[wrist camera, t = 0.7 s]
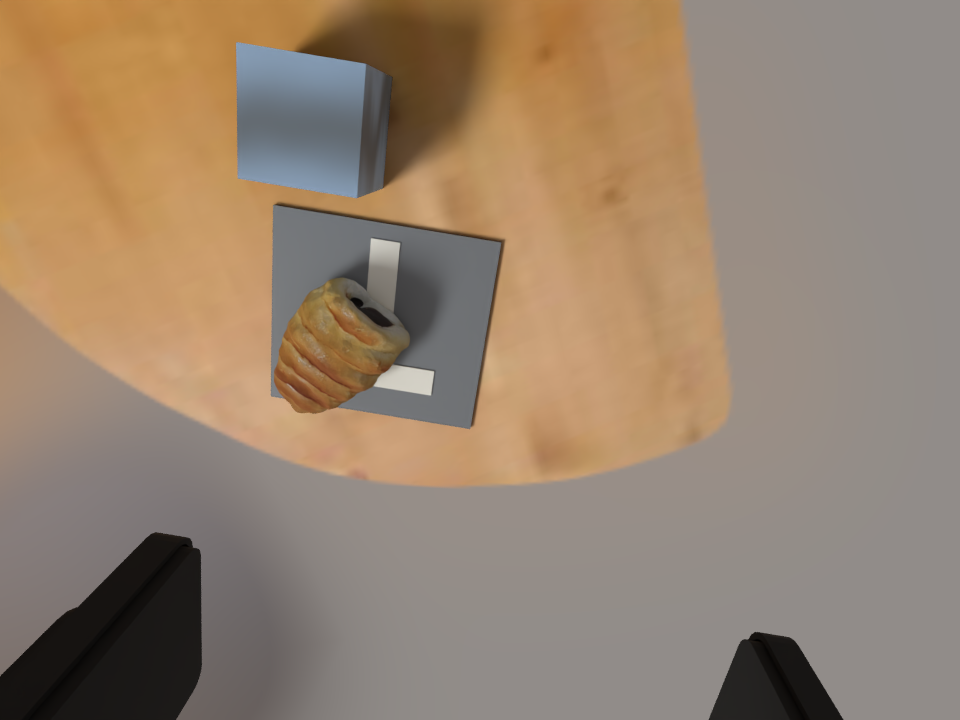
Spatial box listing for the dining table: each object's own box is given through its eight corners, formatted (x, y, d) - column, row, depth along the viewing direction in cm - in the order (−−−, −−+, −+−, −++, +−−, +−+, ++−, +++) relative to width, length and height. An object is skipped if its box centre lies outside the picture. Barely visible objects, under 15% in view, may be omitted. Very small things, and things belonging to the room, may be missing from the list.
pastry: (337, 424, 39) (319, 452, 35) (257, 363, 38) (230, 386, 34) (420, 329, 36) (410, 350, 32) (337, 260, 35) (316, 273, 31)
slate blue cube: (286, 59, 31) (236, 42, 25) (392, 77, 31) (365, 63, 25) (284, 171, 33) (237, 178, 28) (383, 188, 33) (357, 198, 28)
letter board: (274, 204, 34) (272, 205, 34) (501, 242, 34) (501, 242, 34) (272, 395, 39) (270, 397, 38) (470, 427, 39) (470, 429, 38)
